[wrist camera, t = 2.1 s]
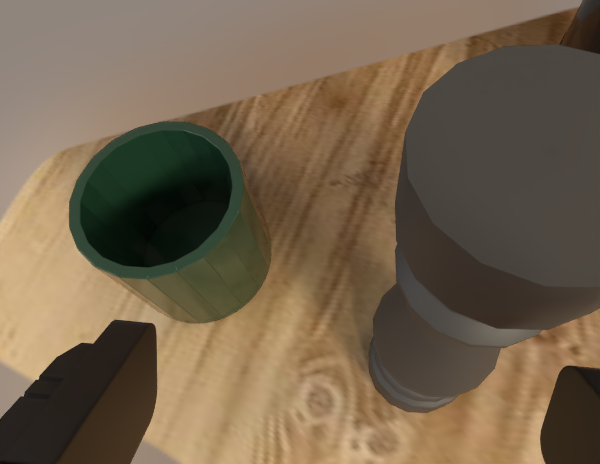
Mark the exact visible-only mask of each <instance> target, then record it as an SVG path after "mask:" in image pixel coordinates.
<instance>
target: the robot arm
mask: <svg viewBox="0 0 600 464" xmlns="http://www.w3.org/2000/svg"><path fill="white" fill-rule="evenodd" d="M565 34H566V35H564V36H565V37H563V38H564V39H562V40H563V41H562V40H561V42H562V43H561V42H560V44H561V45H562V46H566V47H570V48H575V49H579V50H583V51H588V52H592V53H597V54H600V0H583V1H582V3H581V5H580V7H579V9H578V11H577V13H576V15H575V17H574V19H573V21H572V23H571V25H570V27H569V29H568V31H567V33H565ZM560 44H559V45H560ZM156 397H157V340H156V328H155V326H154V324H152V323H143V322H133V321H123V320H114V321H112V322H111V323H110V324H109V326H108V327H107V328H106V329H105V330H104V332H103V333H102V334H101V335H100V336H99V338H98V339H97V340H96V341H95V342H94V344H90V343H80V344H79V345H77V346H75V347H74V348H72V349H70V350H68V351H67V352H65V353H63V354H62V355H60V356H58V357H57V358H56V359H55V360H54V361H53V362H52V363H51V364H50V365H49V366H48V367H47V368H46V370H45V371H44V372H43V373H42V374H41V375H40V376H39V380H35V382H34V383H33V384H32V385H31V386H30V387H29V388H28V389H27V390H26V391H25V394H24V397H20V398H19V399H18V400H17V401H16V402H15V403H14V404H13V406H12V407H11V408H10V409H9V410H8V411H7V412H6V413H5V414H4V415H3V416H2V418H1V419H0V464H130V463H131V461H132V459H133V457H134V455H135V453H136V451H137V449H138V446H139V444H140V442H141V440H142V438H143V436H144V434H145V432H146V430H147V428H148V426H149V424H150V421H151V419H152V416H153V412H154V409H155V404H156ZM540 443H541V450H542V455H543V458H544V461H545V463H546V464H600V369H599V368H589V367H578V366H565V367H564V368H563V369H562V370H561V371H560V373H559V375H558V378H557V381H556V384H555V388H554V391H553V394H552V397H551V400H550V403H549V407H548V410H547V413H546V416H545V419H544V422H543V425H542V429H541V436H540Z"/></svg>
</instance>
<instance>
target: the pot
mask: <svg viewBox="0 0 600 464" xmlns="http://www.w3.org/2000/svg"><path fill="white" fill-rule="evenodd" d="M69 227H70V231H71V233H72V236H73V239H74V241H75V244H76V246H77V249H78V250H79V251H80V252H81V253H82V255H83V256H84V257H85V258H86V259H87V260H88V261H89V262H90V263H91V264H92V265H93V266H94V267H96V268H97V269H98V270H100V271H101V272H103V273H104V274H106V275H107V276H108V277H110V278H111V279H113V280H114V281H115V282H117V283H118V284H120V285H121V286H123V287H124V288H125V289H127V290H128V291H130V292H131V293H133V294H134V295H135V296H137V297H138V298H140V299H141V300H142V301H144V302H145V303H147V304H148V305H150V306H151V307H152V308H154V309H155V310H157V311H158V312H160V313H162V314H164V315H166V316H168V317H170V318H172V319H174V320H177V321H180V322H186V323H207V322H212V321H216V320H219V319H222V318H225V317H227V316H229V315H231V314H233V313H235V312H236V311H238V310H239V309H241V308H242V307H243V306H244V305H246V304H247V303H248V302H249V301H250V300H251V299H252V298H253V297H254V296H255V294H256V293H257V292H258V290H259V289H260V287H261V286H262V284H263V282H264V280H265V278H266V276H267V273H268V270H269V266H270V262H271V243H270V237H269V234H268V230H267V227H266V224H265V222H264V220H263V217H262V215H261V212H260V210H259V207H258V205H257V202H256V200H255V197H254V195H253V192H252V190H251V188H250V185H249V183H248V180H247V178H246V175H245V173H244V170H243V168H242V165H241V163H240V161H239V159H238V158H237V156H236V154H235V153H234V151H233V150H232V148H231V147H230V145H229V144H228V143H227V142H226V141H225V140H224V139H222V138H221V137H220V136H218V135H217V134H216V133H214V132H213V131H212V130H210V129H208V128H205V127H201V126H198V125H195V124H192V123H189V122H158V123H154V124H150V125H146V126H142V127H138V128H135V129H133V130H131V131H129V132H127V133H126V134H124V135H122V136H120V137H118V138H116V139H114V141H113V140H112V141H111V142H110V143H109V144H108V145H106V146H105V147H104V148H103V149H102V150H101V151H99V152H98V153H97V154H96V155H95V156H94V157H93V158H92V159H91V161H90V162H89V163H88V165H87V166H86V168H85V169H84V170H83V172H82V173H81V175H80V176H79V178H78V179H77V181H76V184H75V187H74V190H73V193H72V196H71V199H70V201H69Z"/></svg>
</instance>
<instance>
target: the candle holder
mask: <svg viewBox="0 0 600 464" xmlns="http://www.w3.org/2000/svg"><path fill="white" fill-rule="evenodd" d="M395 217H396V241H397V243H398V244H397V246H396V250H395V256H396V281H397V283H396V284H395V285H394V286H393V287H392V288H391V289H390V290H389V291H388V292H387V293H386V294H385V295H384V296H383V297H382V299H381V301H380V304H379V306H378V308H377V311H376V313H375V316H374V319H373V338H372V341H371V343H370V349H369V373H370V375H371V378H372V380H373V382H374V385H375V387H376V390H377V391H378V392H379V393H380V394H381V395H382V396H383V397H384V398H385V399H386V400H387V401H388V402H389V403H390V404H392V405H394V406H396V407H398V408H400V409H402V410H404V411H406V412H419V413H427V412H430V411H433V410H435V409H438V408H440V407H443V406H445V405H447V404H449V403H450V402H452V401H453V400H454V399H455V398H456V397H457V396H458V395H460V394H462V393H465V392H467V391H470V390H472V389H475V388H477V387H478V386H479V385H480V384H481V383H482V382H483V381H484V379H485V378H486V377H487V376H488V375H489V374H490V373H491V372H492V371H493V370H494V369H495V365H496V362H497V359H498V356H499V352H500V349H501V348H506V347H508V346H511V345H513V344H516V343H518V342H521V341H523V340H526V339H529V338H531V337H534V336H536V335H538V334H540V332H541V331H542V330H549V329H551V328H554V327H557V326H559V325H562V324H564V323H567V322H569V321H572V320H574V319H577V318H580V317H582V316H585V315H587V314H590V313H592V312H594V311H595V310H597V309H599V308H600V54H597V53H592V52H588V51H583V50H579V49H575V48H570V47H566V46H562V45H557V44H553V45H532V46H510V47H502V48H499V49H496V50H493V51H491V52H488V53H485V54H482V55H479V56H477V57H474V58H471V59H468V60H466V61H463V62H460V63H458V64H456V65H455V66H454V67H453V68H452V69H450V70H449V71H448V72H447V73H446V74H445V75H443V76H442V77H441V78H440V79H439V80H438V81H436V82H435V83H434V84H433V85H432V86H430V87H429V88H428V89H427V90H426V91H425V92H423V95H422V97H421V99H420V101H419V103H418V106H417V108H416V110H415V112H414V114H413V116H412V119H411V121H410V123H409V125H408V127H407V129H406V132H405V139H404V145H403V152H402V159H401V166H400V173H399V179H398V186H397V193H396V200H395Z"/></svg>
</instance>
